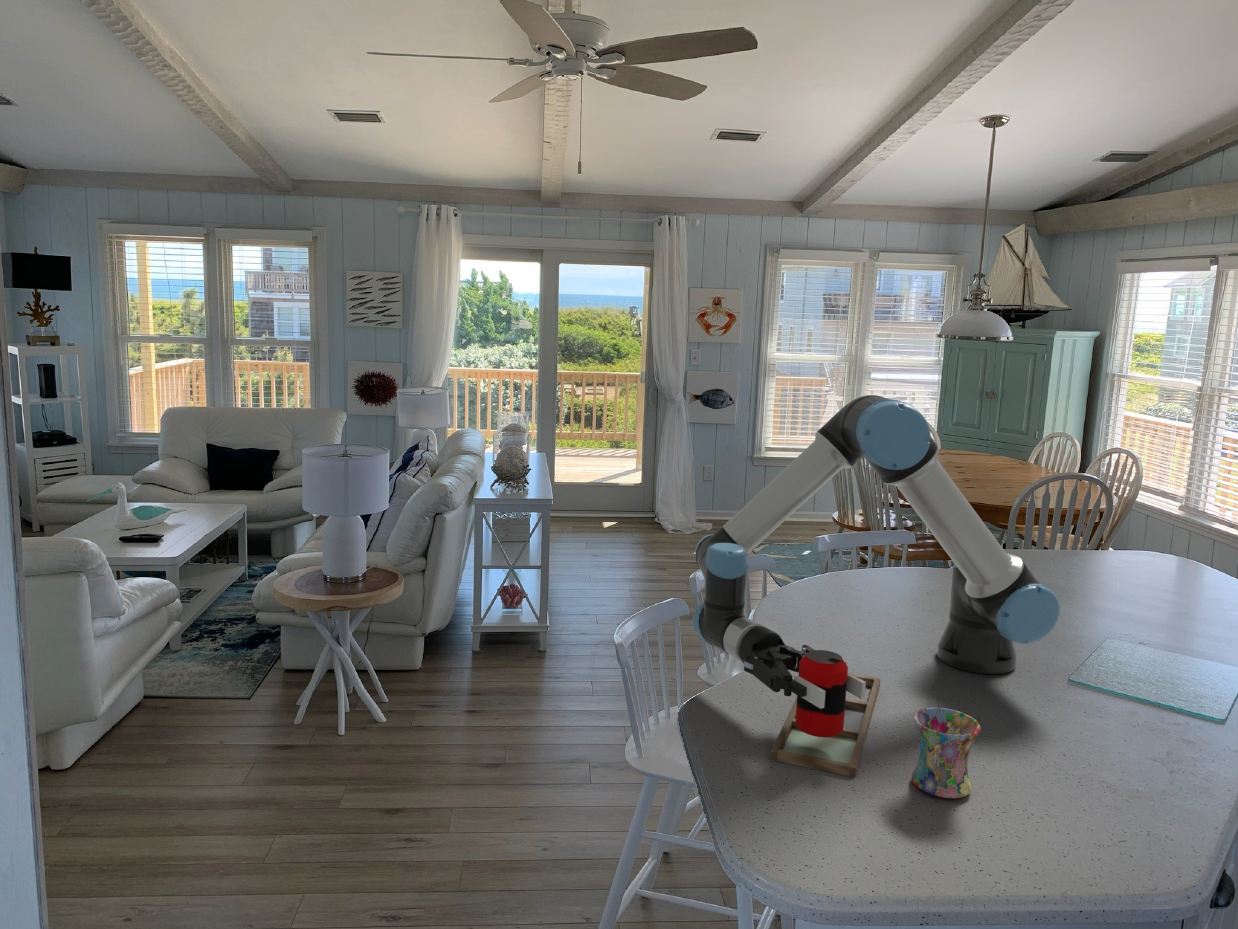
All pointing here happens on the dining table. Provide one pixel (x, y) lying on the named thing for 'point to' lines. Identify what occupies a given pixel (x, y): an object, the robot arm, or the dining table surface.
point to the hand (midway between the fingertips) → (843, 695)
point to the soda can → (832, 678)
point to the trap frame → (829, 738)
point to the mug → (944, 751)
